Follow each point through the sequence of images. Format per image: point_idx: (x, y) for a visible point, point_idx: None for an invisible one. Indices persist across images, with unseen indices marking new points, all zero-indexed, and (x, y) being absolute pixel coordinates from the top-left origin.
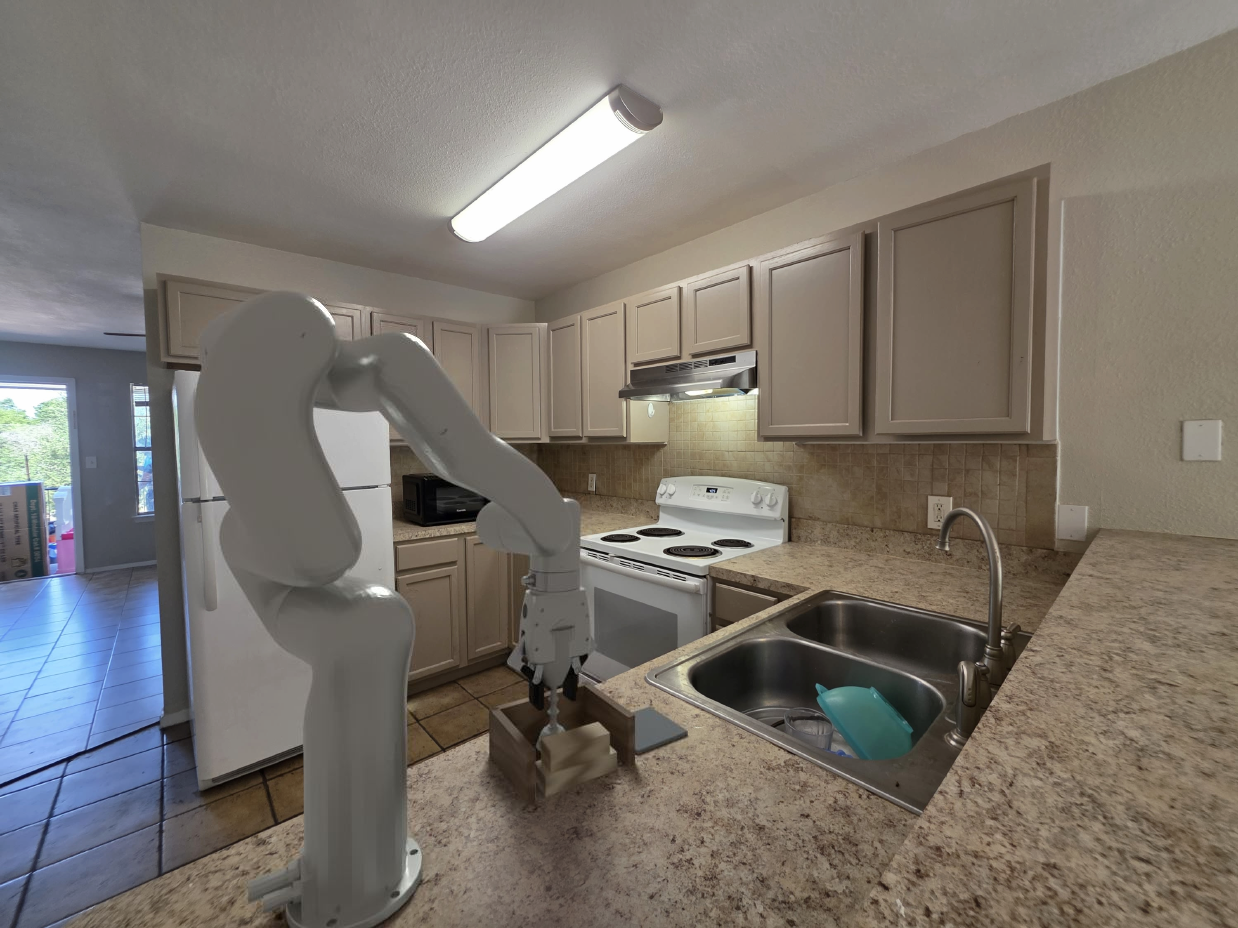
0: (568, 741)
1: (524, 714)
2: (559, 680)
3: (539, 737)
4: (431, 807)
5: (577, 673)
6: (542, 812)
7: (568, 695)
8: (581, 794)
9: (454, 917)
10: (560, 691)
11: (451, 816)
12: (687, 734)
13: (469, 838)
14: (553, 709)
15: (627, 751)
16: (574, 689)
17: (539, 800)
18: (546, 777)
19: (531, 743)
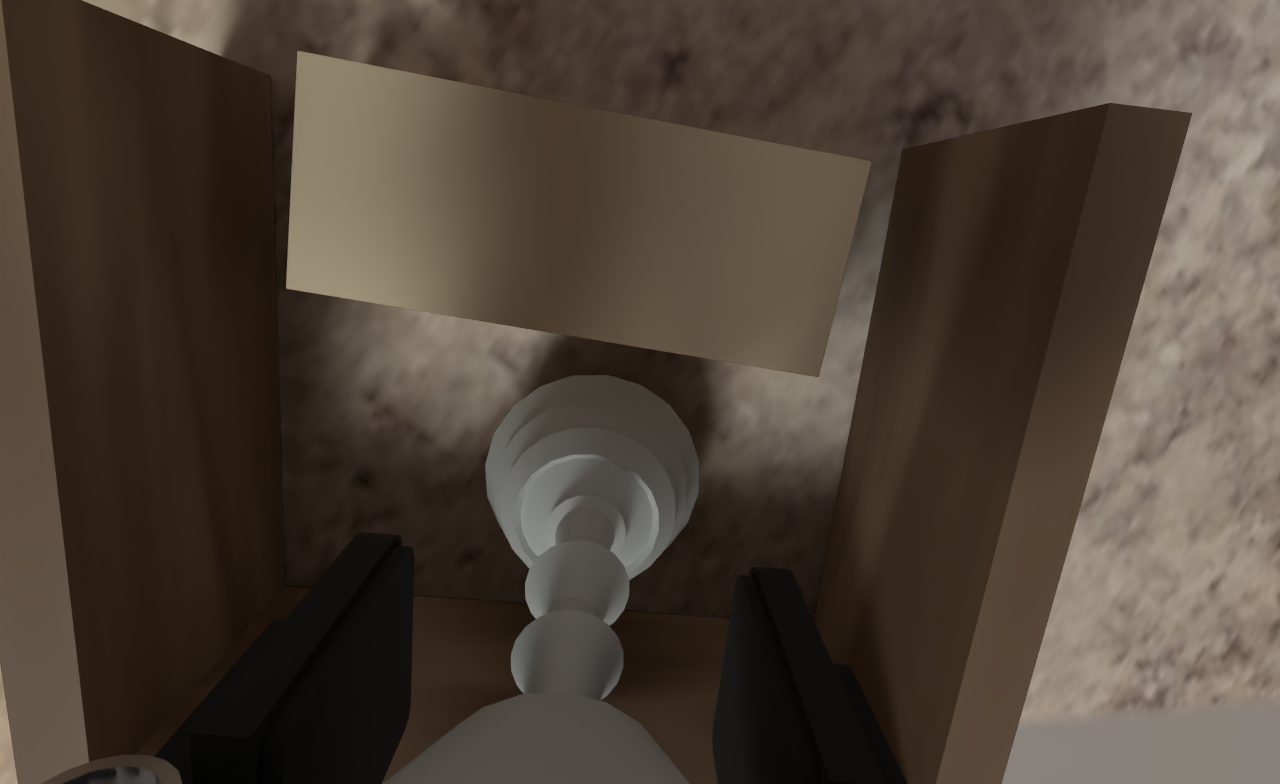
0: (674, 190)
1: (695, 752)
2: (551, 725)
3: (669, 540)
4: (1257, 458)
5: (147, 761)
6: (919, 57)
7: (401, 624)
8: (669, 39)
9: None
10: None
11: (1236, 340)
12: None
13: (1274, 136)
14: (591, 583)
15: (224, 68)
16: (333, 597)
17: (872, 158)
18: (858, 158)
19: (633, 616)
